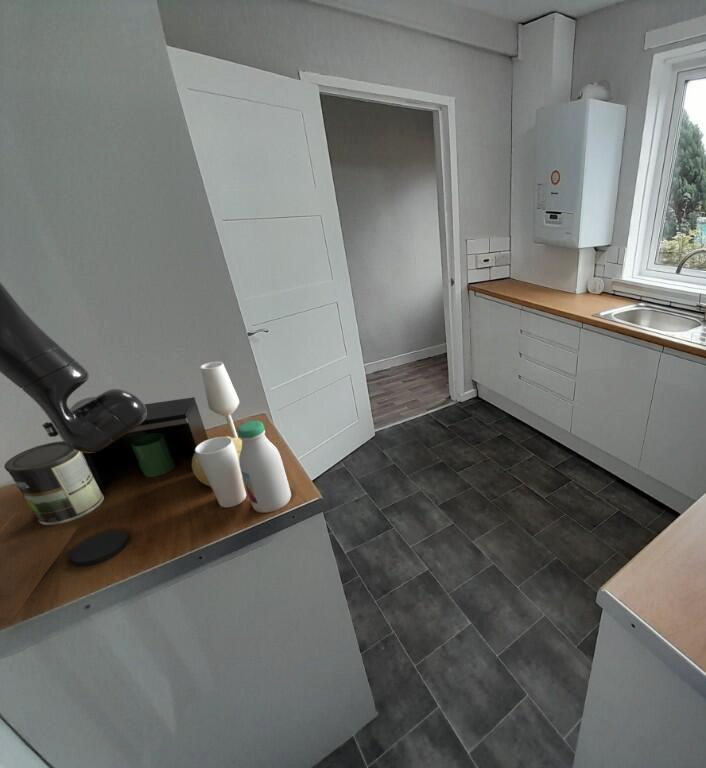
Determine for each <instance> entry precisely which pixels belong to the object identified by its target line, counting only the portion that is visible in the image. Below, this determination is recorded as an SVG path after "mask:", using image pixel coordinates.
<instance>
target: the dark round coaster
mask: <svg viewBox="0 0 706 768" xmlns="http://www.w3.org/2000/svg"><path fill="white" fill-rule="evenodd" d="M129 541H130V538H129V534H128V533H127V532H126V531H124V530H122V529H120V530H119V529H114V530H108V531H104V532H101V533H98V534H96V535H93V536H91V537H89V538H87V539H86V540H84V541H83V542H80V544H78V545H77V546H76V547H74V549H73V550H72V551H71V553H70V560H71V562H72V563H73V564H74V565H75V566H80V567H84V566H92V565H95V564H98V563H102V562H104V561H106V560H108V559H110V558H112V557H114V556H115V555H117V554H118V553H120V552H121V551H122V550H123V549H125V547H126V546H127V545H128V544H129Z"/></svg>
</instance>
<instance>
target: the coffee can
mask: <svg viewBox="0 0 706 768" xmlns="http://www.w3.org/2000/svg"><path fill="white" fill-rule="evenodd" d="M3 466H4V469H5V470H6V471H7V473H9V475H10V477H11V478H12V480H13V482H14V483H15V485H16V486H17V488H18V489H19V491H20V493H21V494H22V496H23V497H24V499H25V501H26V502H27V505H29V507H30V508H31V510H32V512H33V513H34V516H35V517H36V518H37V521H38V523H39V524H41V525H43V526H57V525H61V524H65V523H69V522H73V521H75V520H77V519H80V518H82V517H84V516H85V515H86V516H87V515H88V514H90V513H91V512H93V511H94V510H96V509H97V508H99V507H100V505H102V503H103V502H104V500H105V495H104V493H102V491H100V489H99V487H98V485H97V483H96V481H95V478H94V476H93V474H92V472H91V470H90V468H89V466H88V464H87V462H86V460H85V458H84V456H83V454H82V452H80V451H77V450H74V449H72V448H71V447H69V446H68V445H67V444H66V443H65V442H64V441H63V440H62V441H54V442H53V441H52V442H48V443H44V444H40V445H37V446H34V447H31V448H29V449H26V450H23V451H21V452H19V453H17V454H16V455H14V456H12V457H11V458H9V459H8V460H7V461H6V462H5V463H4V465H3Z"/></svg>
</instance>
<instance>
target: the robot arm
mask: <svg viewBox="0 0 706 768" xmlns="http://www.w3.org/2000/svg"><path fill="white" fill-rule="evenodd" d="M0 374H2V375H3V376H4V377H5V378H7V379H8V380H9V381H10V382H12V383H13V384H14V385H16V387H18V388H19V389H21V390H22V391H23V392H24V393H25V394H26V395H27V396H28V397H30V398H31V399H32V400H33V401H34V403H36V404H37V406H39V408H40V409H41V410H42V412H44V414H45V415H46V418H48V420H49V422H44V423H43V424H41V426H42V427H43V428H44V430H45V432H46V433H47V435H48V437H50V438H52V437H53V438H55V437H57V436H59V438H60V439H61V440H62V441H64V442H65V443H66V444H67V445H68V446H69V447H71V448H72V449H74V450H77V451H80V452H81V453H82V452H86V453H93V452H97V451H100V450H102V449H103V448H105V447H107V446H108V445H110V444H111V443H113V442H114V441H116V440H117V439H119V438H120V437H122V436H123V435H125V434H127V433H128V432H130V431H131V430H133V429H134V428H136V427H137V426H139V425H140V424H142V423H143V422H144V421H145V419H146V417H147V409H146V407H145V405H144V404H145V403H144V401H142V399H141V398H140V397H138V396H137V395H135V394H133V393H132V392H131V391H127V390H125V389H121V388H120V389H119V388H111V389H108V390H106V391H104V392H102V393H100V394H98V395H97V396H90V397H86V398H83V399H80V400H79V401H77V402H76V403H74V404H73V405H72V406H71V407H70V408H69V407H68V400H69V397H70V396H71V395H72V394H73V393H74V392H76V390H78V389H79V388H81V386H84V384H85V383H86V382H87V381H88V380H89V379H90V372H89V371H88V370H87V369H86V368H85V367H84V366H83V365H82V364H81V363H80V362H79V361H78V360H76V359H75V358H74V357H73V356H72V355H71V354H70V353H69V352H67V350H65V349H64V348H63V347H62V346H61V345H60V344H58V343H57V342H56V341H55V339H53V338H52V337H51V336H50V335H48V333H47V332H45V331H44V330H43V329H42V328H41V327H40V326H39V325H38V324H37V323H36V322H35V321H34V320H33V319H32V318H31V317H30V316H29V315H28V314H27V313H26V311H24V308H22V306H21V305H20V304H19V302H17V301H16V299H15V298H14V297H13V296H12V295H11V294H10V292H9V291H8V290H7V289H6V287H5V286H4V285H3V283H2V282H1V281H0Z"/></svg>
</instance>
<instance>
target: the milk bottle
mask: <svg viewBox="0 0 706 768" xmlns="http://www.w3.org/2000/svg"><path fill="white" fill-rule="evenodd" d="M236 432H237V436H238V438H240V439H241V440H242V449H241V453H240V457H239V464H240V469H241V473H242V476H243V483H244V487H245V490H246V493H247V495H248V498H249V501H250V503H251V507H252V508H253V510H254V511H256V512H258V513H261V514H263V513H264V514H265V513H272V512H275V511H278V510H279V509H282V508H283V507H285V506H286V505H287V504H288V503H289V502H290V500H291V497H292V492H291V488H290V484H289V480H288V477H287V474H286V470H285V467H284V462H283V460H282V457H281V454H280V451H279V450H278V448H277V447H276V446H275V445H274V443H272V442H271V441H270V440H269V438H268V437H267V436H266V430H265V426H264V423H263V422H262V421H260V420H250V421H247V422H244V423H242V424H240V425H238V427H237V431H236Z"/></svg>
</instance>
